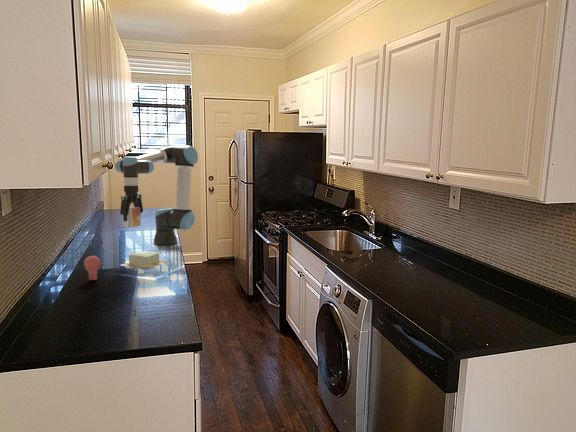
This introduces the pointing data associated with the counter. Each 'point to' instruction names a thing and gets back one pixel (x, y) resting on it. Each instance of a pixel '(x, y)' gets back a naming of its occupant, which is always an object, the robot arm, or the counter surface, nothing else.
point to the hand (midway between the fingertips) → (132, 225)
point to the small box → (134, 216)
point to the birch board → (144, 266)
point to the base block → (144, 258)
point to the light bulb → (92, 266)
